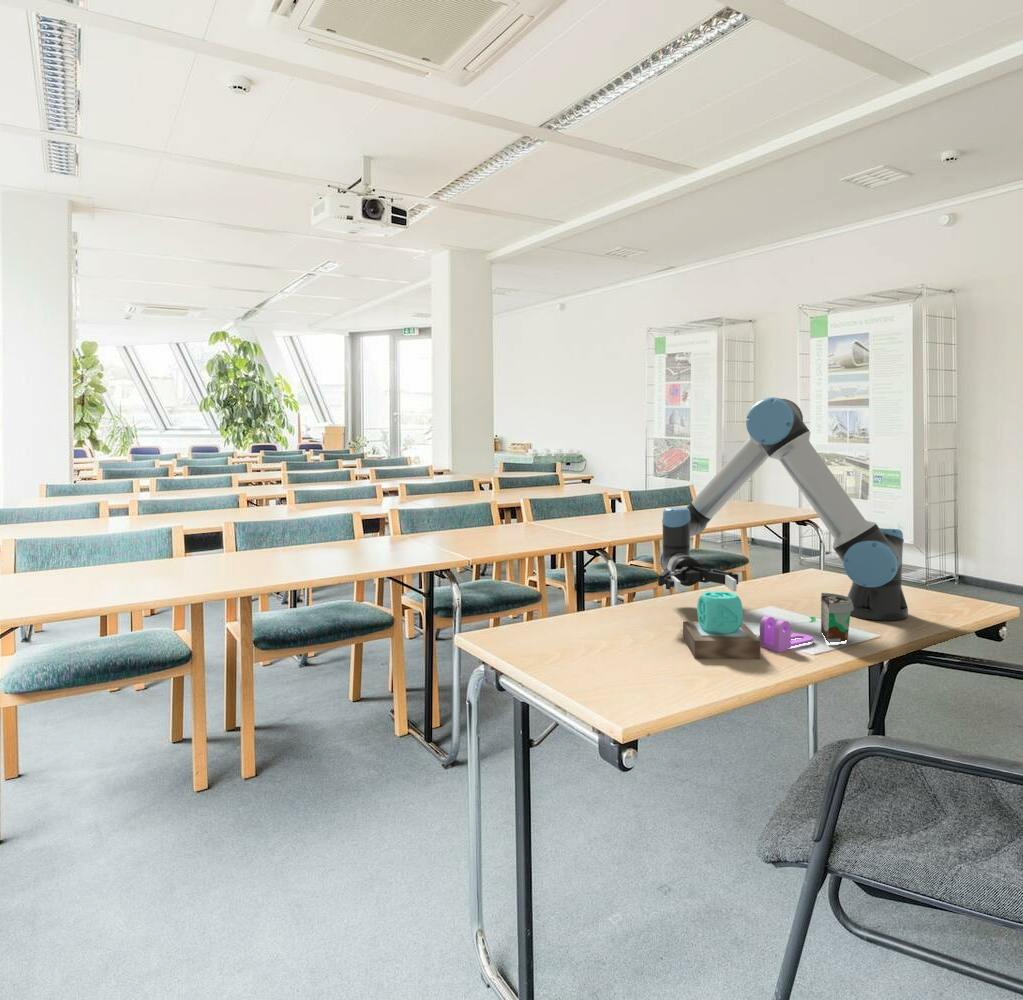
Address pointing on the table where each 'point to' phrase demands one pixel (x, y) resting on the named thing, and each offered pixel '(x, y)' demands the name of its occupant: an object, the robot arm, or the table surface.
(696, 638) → the plinth
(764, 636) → the bracket
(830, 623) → the food container
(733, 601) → the decorative dice
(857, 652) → the table surface
